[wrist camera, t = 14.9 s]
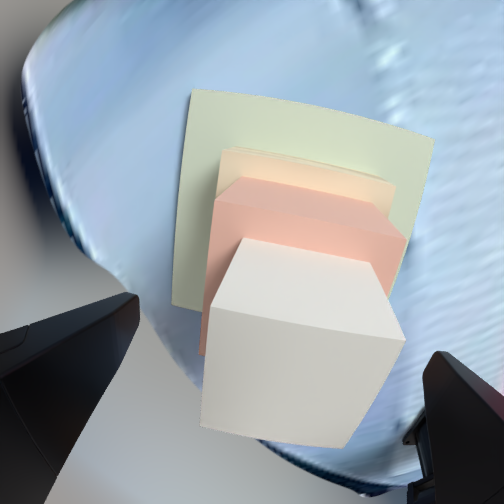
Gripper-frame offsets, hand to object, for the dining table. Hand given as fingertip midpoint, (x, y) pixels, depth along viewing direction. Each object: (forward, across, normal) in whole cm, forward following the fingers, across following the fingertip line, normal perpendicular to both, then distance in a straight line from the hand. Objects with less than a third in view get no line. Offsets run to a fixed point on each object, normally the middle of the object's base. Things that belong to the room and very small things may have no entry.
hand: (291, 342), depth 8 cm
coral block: (+7, 0, 0) cm, 7 cm away
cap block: (+2, 0, 0) cm, 2 cm away
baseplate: (+11, 0, 0) cm, 11 cm away
